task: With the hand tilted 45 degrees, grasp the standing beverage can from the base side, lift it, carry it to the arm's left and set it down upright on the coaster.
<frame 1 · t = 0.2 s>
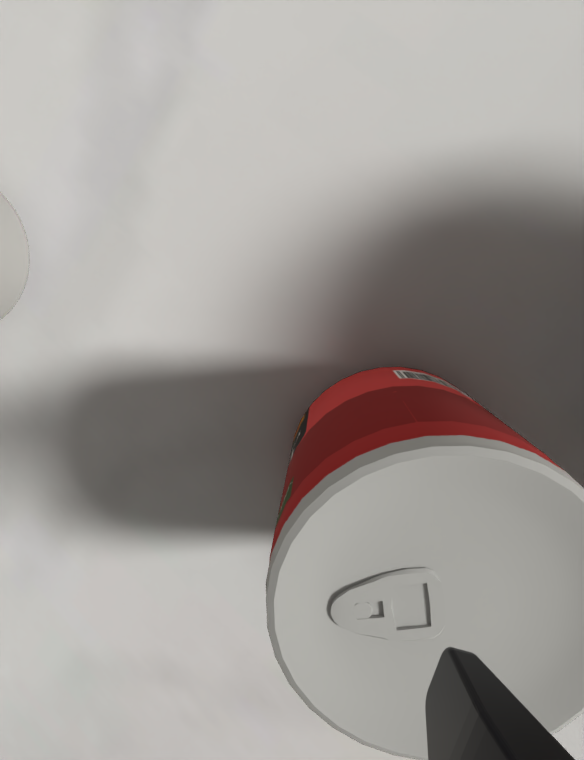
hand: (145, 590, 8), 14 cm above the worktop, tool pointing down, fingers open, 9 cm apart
canned food: (386, 451, 22), on the worktop
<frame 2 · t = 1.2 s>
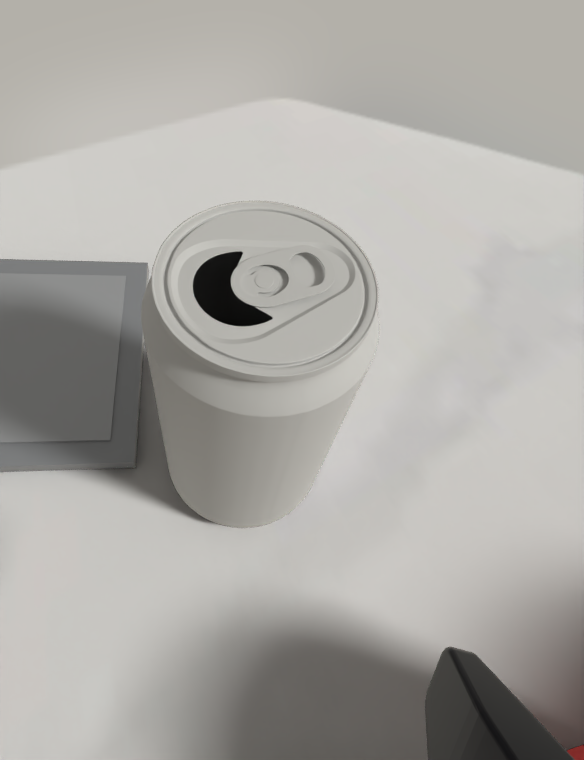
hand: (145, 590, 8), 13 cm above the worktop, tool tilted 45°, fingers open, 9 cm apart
beverage can: (243, 461, 23), on the worktop
coaster: (19, 358, 24), on the worktop
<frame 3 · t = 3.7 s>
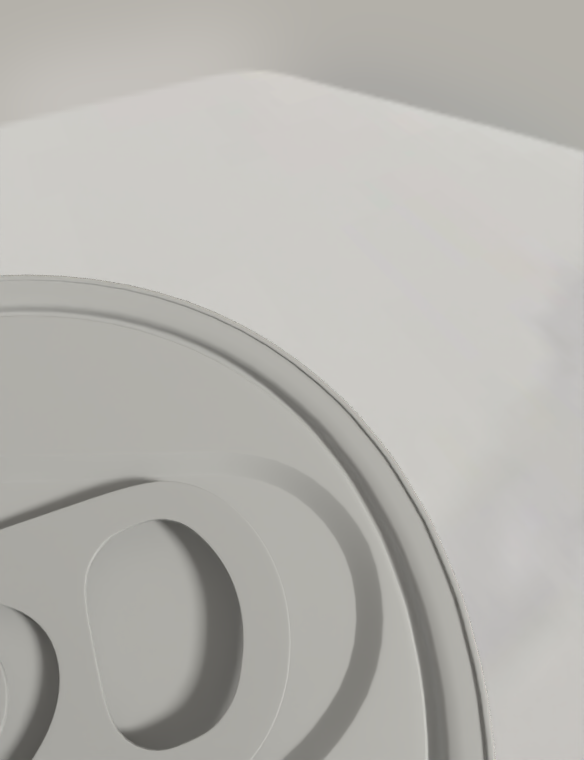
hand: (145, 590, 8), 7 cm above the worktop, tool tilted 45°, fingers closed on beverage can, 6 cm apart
beverage can: (158, 697, 13), on the worktop, touching gripper
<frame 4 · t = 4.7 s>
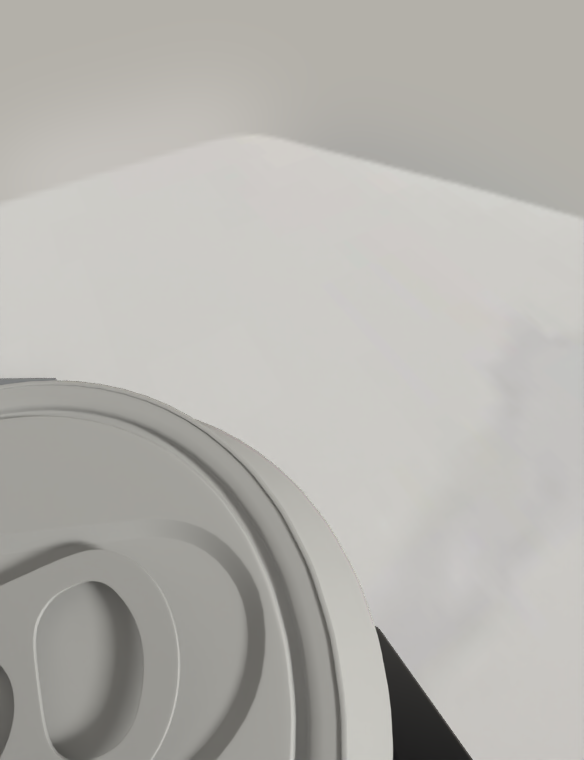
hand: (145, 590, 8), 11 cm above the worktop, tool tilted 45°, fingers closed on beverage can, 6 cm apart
beverage can: (242, 697, 14), point 3 cm above the worktop, touching gripper
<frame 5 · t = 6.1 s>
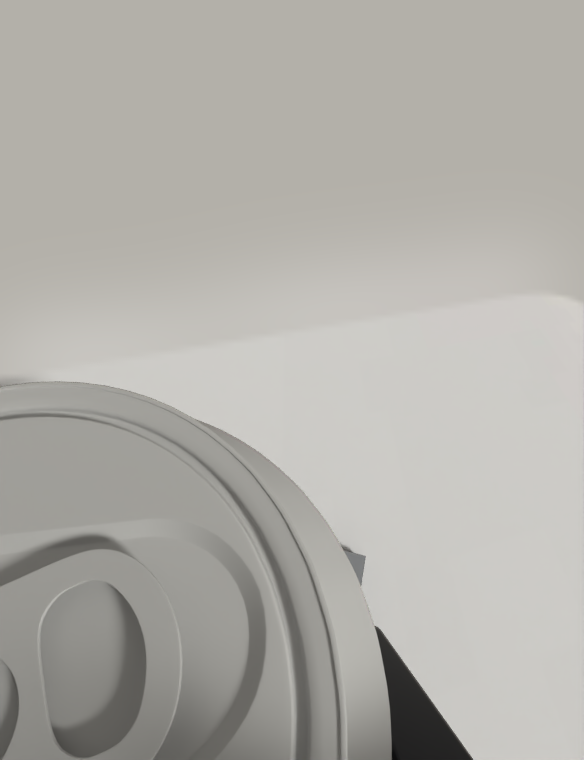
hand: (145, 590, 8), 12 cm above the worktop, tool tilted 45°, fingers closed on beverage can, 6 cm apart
beverage can: (242, 695, 14), point 4 cm above the worktop, touching gripper
coaster: (173, 683, 17), on the worktop
when the fingers open (8 cm above the worktop, at t = 7.2 s): beverage can stays where it is, resting on coaster.
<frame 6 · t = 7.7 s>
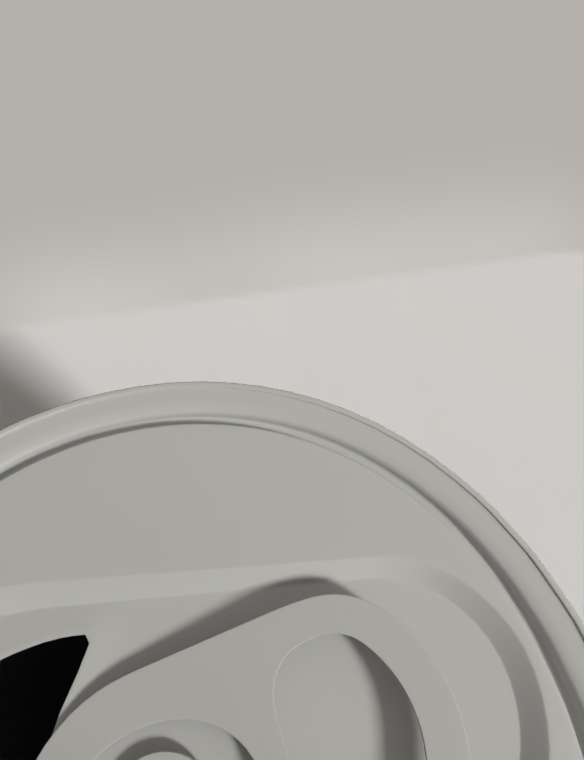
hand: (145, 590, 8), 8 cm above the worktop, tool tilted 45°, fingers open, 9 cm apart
beverage can: (239, 710, 13), point 1 cm above the worktop, touching coaster, gripper
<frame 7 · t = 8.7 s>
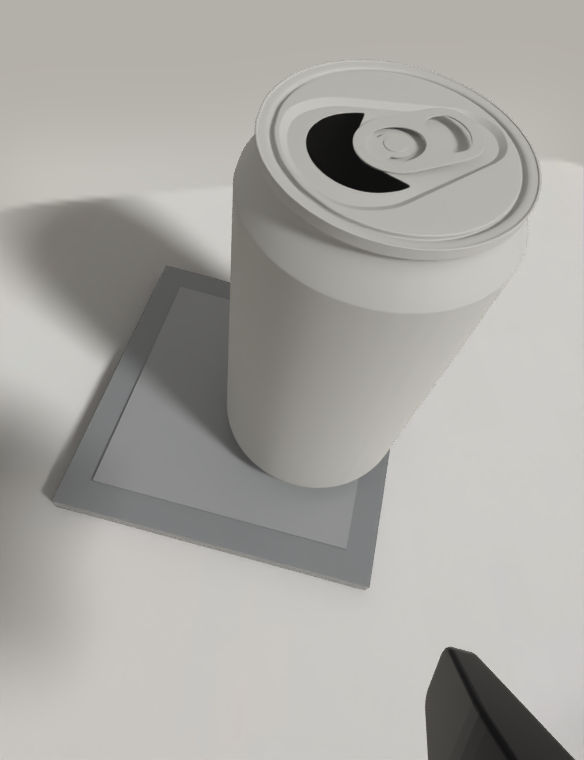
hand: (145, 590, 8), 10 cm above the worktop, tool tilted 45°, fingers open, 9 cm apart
beverage can: (309, 417, 21), point 1 cm above the worktop, touching coaster
coaster: (252, 410, 21), on the worktop
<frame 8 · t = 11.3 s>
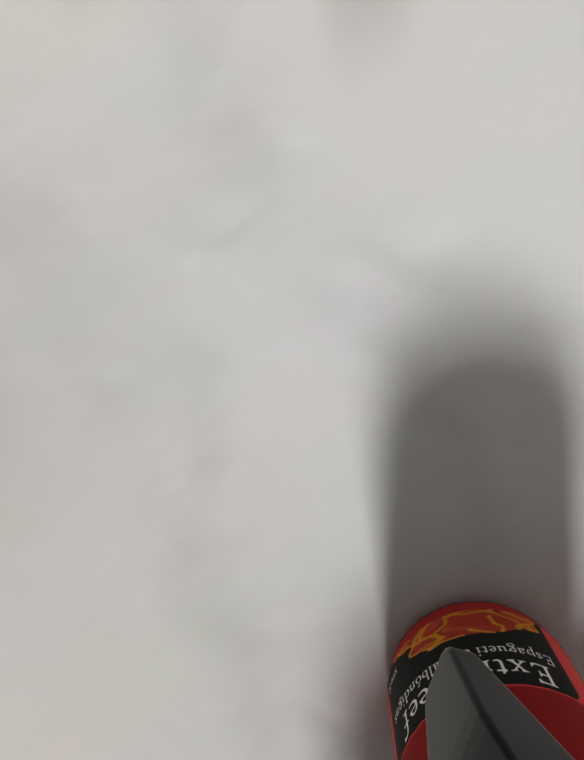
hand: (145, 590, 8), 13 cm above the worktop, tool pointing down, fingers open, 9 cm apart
canned food: (473, 673, 23), on the worktop
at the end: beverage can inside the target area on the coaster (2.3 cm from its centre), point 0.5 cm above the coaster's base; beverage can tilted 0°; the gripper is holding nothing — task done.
